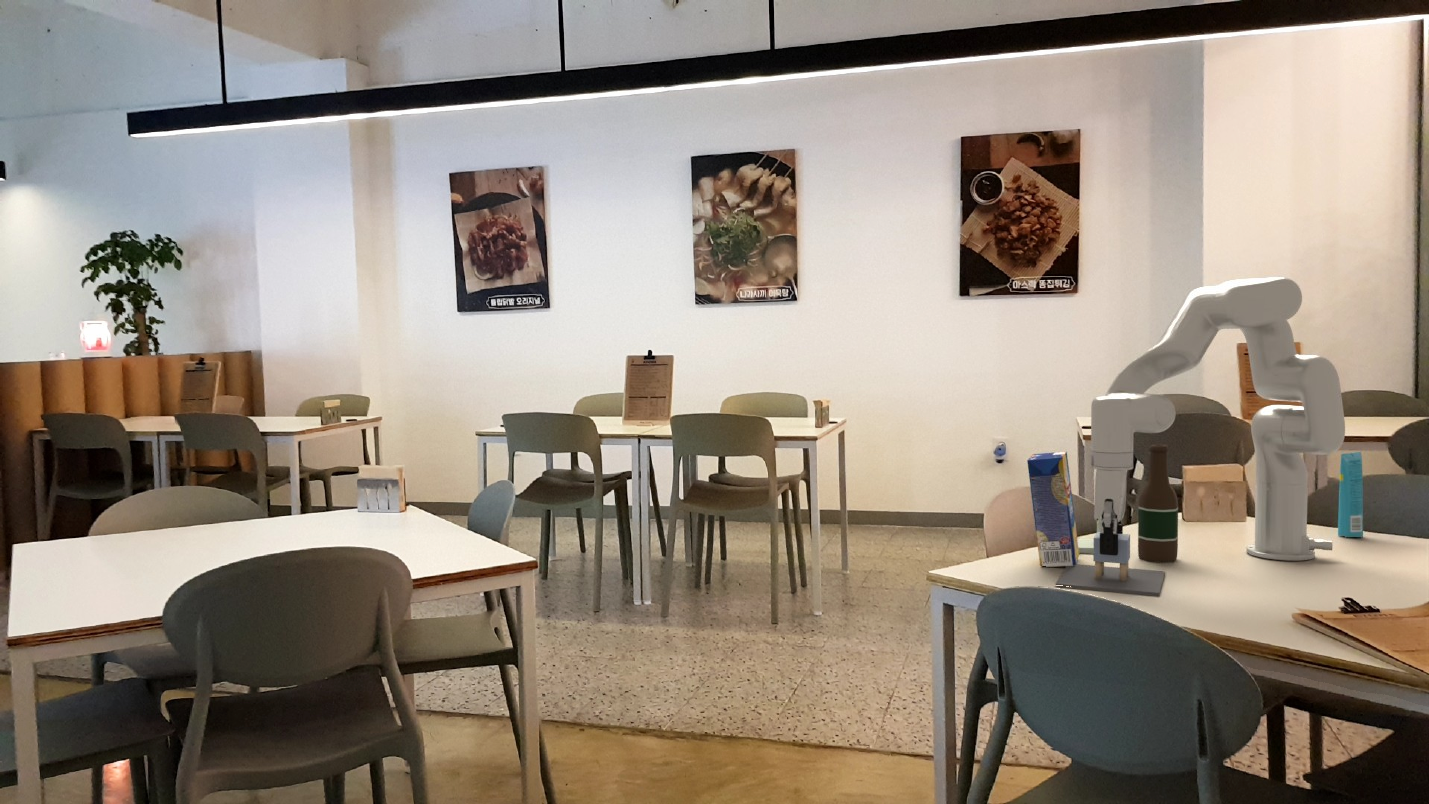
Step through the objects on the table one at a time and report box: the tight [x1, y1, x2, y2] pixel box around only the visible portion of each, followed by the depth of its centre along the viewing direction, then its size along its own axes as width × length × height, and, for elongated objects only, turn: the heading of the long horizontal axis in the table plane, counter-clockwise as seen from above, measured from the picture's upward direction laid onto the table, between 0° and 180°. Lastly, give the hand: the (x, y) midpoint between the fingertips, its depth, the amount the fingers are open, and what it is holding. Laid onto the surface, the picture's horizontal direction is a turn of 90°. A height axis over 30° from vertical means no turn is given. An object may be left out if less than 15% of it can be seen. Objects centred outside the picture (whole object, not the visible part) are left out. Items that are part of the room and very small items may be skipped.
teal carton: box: [1337, 451, 1364, 538], centre depth 230 cm, size 7×5×19 cm, turn 124°
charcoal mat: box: [1054, 563, 1166, 597], centre depth 195 cm, size 18×18×1 cm
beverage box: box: [1027, 450, 1080, 568], centre depth 210 cm, size 7×11×22 cm, turn 157°
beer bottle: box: [1137, 443, 1179, 564], centre depth 211 cm, size 8×8×24 cm
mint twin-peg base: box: [1077, 517, 1102, 554], centre depth 223 cm, size 10×10×6 cm
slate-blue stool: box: [1093, 531, 1131, 582], centre depth 195 cm, size 6×6×8 cm
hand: (1111, 549), depth 195 cm, fingers open, 9 cm apart
